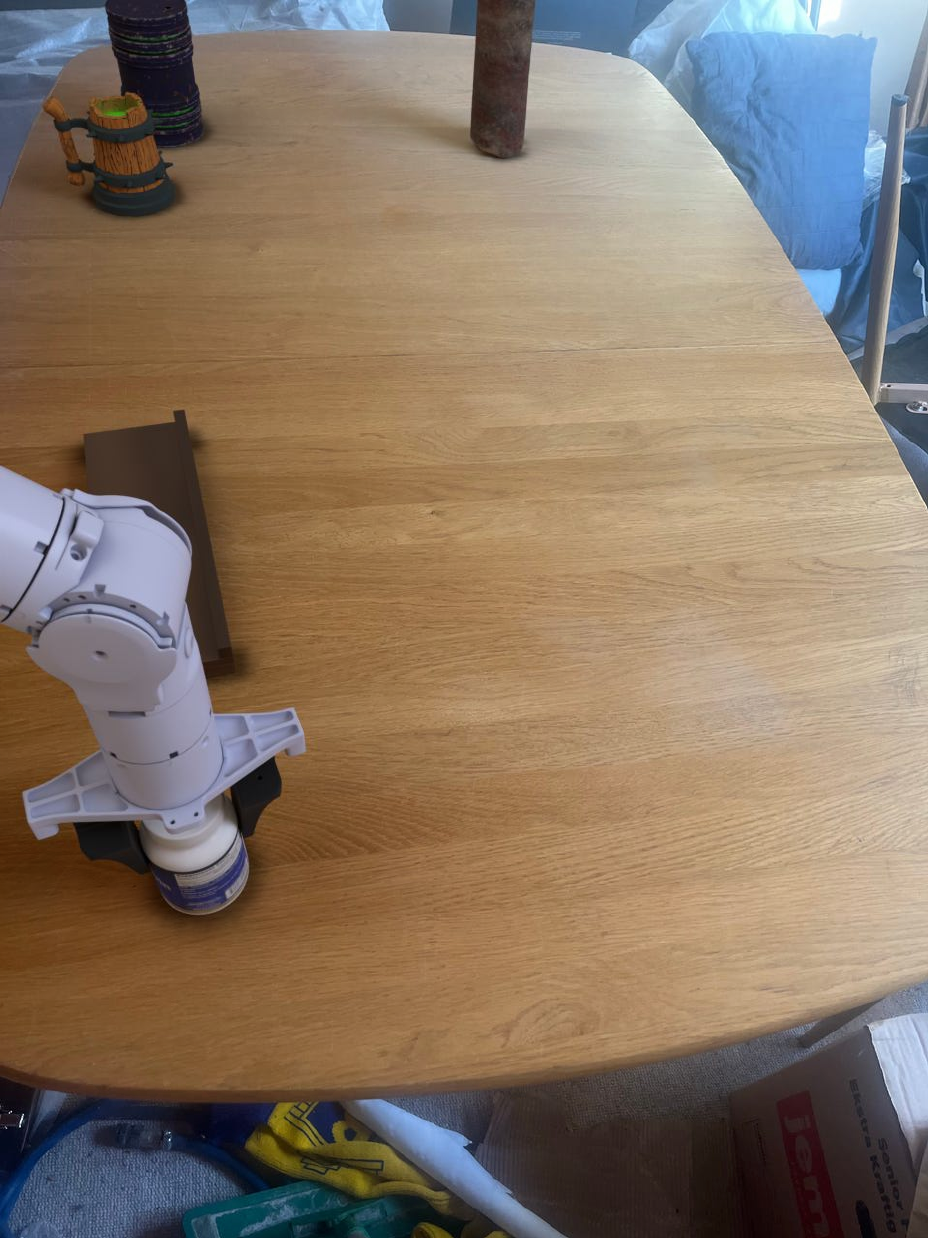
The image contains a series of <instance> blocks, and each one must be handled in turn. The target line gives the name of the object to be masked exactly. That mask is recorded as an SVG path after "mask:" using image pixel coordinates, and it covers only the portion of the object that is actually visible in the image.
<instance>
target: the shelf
mask: <svg viewBox="0 0 928 1238" xmlns="http://www.w3.org/2000/svg"><path fill="white" fill-rule="evenodd" d="M172 413H173V418H174V421H170V422H162V423H155V424H147V425H140V426H132V427H125V428H118V429H117V428H116V429H109V430H102V431H95V432H87V433H83V434H82V435H83V436H82V437H83V448H84V459H85V467H86V468H85V469H86V470H85V471H86V478H87V479H86V480H87V489H88V494H90V495H96V496H104V495H118V496H127V497H133V498H137V499H141V500H144V501H147V502H150V503H151V504H152V505H154V506H155V507H156V508H157V509H158V510H160V511H162V512H164V513H165V514H167V515H168V516H170V517H171V518H172V519H174V520H175V521H176V522H177V523H178V524H179V525H180V526H181V527H182V528H183V530H184V531H185V532H186V534H187V536H188V538H189V540H190V543H191V547H192V556H191V571H190V577H189V582H188V587H187V593H186V598H185V602H186V604H187V608H188V612H189V616H190V621H191V625H192V629H193V633H194V637H195V639H196V641H197V644H198V648H199V652H200V656H201V661H202V665H203V669H204V674H205V678H206V679H209V678H214V677H215V678H216V677H221V676H225V675H229V674H234V673H237V668H236V663H235V658H234V652H233V647H232V642H231V637H230V632H229V626H228V622H227V617H226V616H227V615H226V611H225V606H224V602H223V597H222V591H221V586H220V582H219V581H220V580H219V577H218V576H219V575H218V573H217V572H218V571H217V567H216V561H215V557H214V552H213V551H214V550H213V546H212V541H211V536H210V531H209V527H208V521H207V516H206V512H205V511H206V510H205V506H204V501H203V496H202V492H201V491H202V490H201V486H200V481H199V477H198V469H197V466H196V461H195V456H194V451H193V446H192V441H191V436H190V435H191V434H190V431H189V425H188V421H187V417H186V415H187V414H186V410H185V409H178V410H173V411H172Z"/></svg>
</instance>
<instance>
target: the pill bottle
mask: <svg viewBox="0 0 928 1238" xmlns="http://www.w3.org/2000/svg"><path fill="white" fill-rule="evenodd" d="M204 811H205V815H206V820H205V822H204V823H203V824H202V825H201V826H199V827H196V828H193V829H190V830H187V831H185V832H182V833H179V834H170V833H168V832H167V831H166V829H165V827H164V824H163V822H162V821H161V820H139V821H140V822H139V827H138V830H139V837H140V842H141V846H142V849H143V851H144V853H145V856H146V858H147V860H148V863H149V866H150V870H151V872H152V875H153V877H154V880H155V882H156V885H157V886H158V889H159V891H160V893H161V895H162V897H163V899H164V900H165V901H166V903H167V904H168V905H169V906H171V907H172V908H173V909H174V910H176V911H178V912H181V913H183V914H185V915H186V914H187V915H191V916H204V915H205V916H206V915H210V914H213V913H217V912H219V911H221V910H223V909H225V908H226V907H228V906H229V905H231V903H234V901H236V899H237V898H238V897H239V896H240V895H241V893H242V891H243V890H244V888H245V886H246V885H247V881H248V877H249V874H250V873H249V872H250V863H249V856H248V852H247V848H246V844H245V841H244V839H243V836H242V833H241V830H240V825H239V821H238V817H237V812H236V810H235V807H234V805H233V803H232V800H231V797H229V796H228V795H227V793H225V791H223V792H222V793H221V794H219V795H218V796H216V797H215V798H213V799H212V800H211V801H209V802H208V803H206V805H205V806H204Z"/></svg>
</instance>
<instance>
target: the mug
mask: <svg viewBox="0 0 928 1238" xmlns="http://www.w3.org/2000/svg"><path fill="white" fill-rule="evenodd" d="M41 107H42V109H43V111H44V112H45V113H46V114H48V115H49V116H51V117H52V118H54V119H53V126H54V129H55V130H57V132H58V137H59V143H60V146H61V149H62V151H63V154H64V155H65V158H66V161H65V167H66V169H67V171H68V174H67V178H66V179H67V182H68V183H69V184H70V185H71V186H74V187H81V186H84V185H85V184H86V180H87V179H86V176H85V174H84V172H83V171H85V172H87V173H92V174H93V175H94V178H93V179H92V181H93V187H92V189H91V193H92V198H93V200H94V203H95V206H96V207H98V208H100V209H101V210H103V211H104V212H105V213H109V214H112V215H116V216H121V217H122V216H123V217H141V216H148V215H153V214H155V213H158V212H160V211H163V210H166V209H167V208H168V207H170V206H171V205H172V204H173V203H174V202H175V199H176V195H177V193H176V188H175V185H174V183H173V181H172V179H170V177H169V174H168V172H167V169H169V168H171V167H173V166H174V163H173V162H169V161H168V162H165V160H164V159H163V157H162V154H163V153H164V152H163V150H158V147H156V143H155V140H154V136H153V135H154V134H155V133H154V132H153V131H154V129H155V126H157V125H160V124H162V123H163V120H154V119H153V118H152V117H151V115H150V114H151V113H152V112H153V110H152V109H150V110H146V109H145V106H144V104H143V102H142V99H141V98H140V97H139V96H138V95H137V94H135V93H131V92H126V93H125V96H121V95H111V96H105V97H101V98H99V97H95V96H90V98H89V102H88V109H89V110H87V111H86V114H88V117H87V118H83V117H79V118H78V117H76V118H72V119H70V118H69V117H68V114H67V113H66V111H65V108H64V107H63V105H62V102H60V101H59V99H57V98H56V97H54V96H50V97H48V98H47V99H45V101H44V103H42V106H41ZM76 128H77V129H84V130H87V132H88V133H87V134H86V135H85V137H86V138H87V139H89V138H91V139H92V145H93V157H94V159H93V162H84V161H83V160H81V159H80V158H79V154H78V151H77V149H76V146H75V142H74V139H73V136H72V133H71V130H72V129H76Z"/></svg>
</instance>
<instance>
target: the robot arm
mask: <svg viewBox="0 0 928 1238" xmlns="http://www.w3.org/2000/svg"><path fill="white" fill-rule="evenodd" d="M191 556H192V547H191V543H190V540H189V538H188V536H187V534H186V532H185V531H184V530H183V528H182V527H181V526H180V525H179V524H178V523H177V522H176V521H175V520H174V519H172V518H171V517H170V516H168V515H167V514H165V513H164V512H162V511H160V510H158V509H157V508H156V507H155V506H154V505H152V504H151V503H150V502H147V501H144V500H141V499H137V498H133V497H127V496H118V495H104V496H96V495H90V494H89V493H86V492H84V491H82V490H80V489H78V488H75V489H74V490H71V489H69V488H67V487H65V488H62V489H61V490H60V492H59V493H58V492H56V491H54V490H52V489H50V488H48V487H46V486H44V485H42V484H40V483H38V482H35V481H34V480H31V479H30V478H27V477H25V476H23V475H21V474H19V473H17V472H15V471H13V470H11V469H9V468H7V467H5V466H3V465H0V624H1V625H4V626H7V627H9V628H11V629H14V630H16V631H18V632H22V633H24V634H26V635H29V636H31V641H30V645H27V646H26V647H25V651H26V653H27V655H28V656H29V657H30V659H31V660H32V661H33V662H34V663H35V664H36V665H37V666H38V667H39V668H41V669H42V670H43V671H44V672H46V673H47V674H49V676H52V677H54V678H55V679H58V680H60V681H62V682H64V683H65V684H66V685H68V686H69V687H70V688H71V689H72V690H73V692H74V694H75V696H76V698H77V701H78V703H79V705H82V706H81V707H82V709H83V710H84V713H85V715H86V718H87V720H88V723H89V725H90V727H91V730H92V733H93V734H94V737H95V740H96V742H97V745H98V747H99V749H98V750H96V751H95V752H93V753H92V754H90V755H88V756H87V757H86V758H84V759H82V760H80V761H79V762H77V763H76V764H74V765H72V766H71V767H69V768H68V769H67V770H65V771H64V772H62V773H60V774H59V775H57V776H55V777H53V778H52V779H50V780H48V781H46V782H44V783H42V784H40V785H37V786H35V787H31V788H28V789H26V790H23V791H22V792H21V793H22V795H21V796H22V800H23V805H24V811H25V817H26V821H27V824H28V826H29V828H30V829H31V831H32V833H33V834H34V836H35V838H36V840H37V841H41V840H44V839H47V838H51V837H53V836H56V835H57V834H58V833H59V831H60V829H59V828H60V827H59V825H58V824H68V823H72V825H73V828H74V829H75V830H74V831H75V833H76V836H77V839H78V844H79V848H80V851H81V852H82V853H83V855H84V856H85V857H86V858H87V859H88V860H89V861H90V862H93V861H95V862H96V861H103V860H104V861H113V862H116V863H120V864H122V865H125V866H126V867H128V868H130V869H131V870H132V871H134V872H135V873H137V874H138V875H139V876H142V875H144V874H148V873H151V872H152V870H151V868H150V865H149V863H148V860H147V858H146V856H145V853H144V851H143V849H142V846H141V842H140V837H139V827H138V826H137V824H136V823H135V822H136V821H141V820H161V821H162V822H163V824H164V827H165V829H166V831H167V832H168V833H170V834H179V833H182V832H185V831H187V830H190V829H193V828H196V827H199V826H201V825H202V824H203V823H204V822H205V820H206V815H205V811H204V806H205V805H206V803H208V802H209V801H211V800H212V799H213V798H215V797H216V796H218V795H219V794H221V793H222V792H225V791H226V790H227V789H229V791H230V800H231V801H232V803H233V805H234V807H235V810H236V812H237V817H238V821H239V825H240V830H241V833H242V837H243V840H245V839H247V838H250V837H253V836H254V835H255V831H256V827H257V824H258V822H259V819H260V817H261V816H262V813H263V812H264V810H265V809H266V808H267V807H268V806H269V805H270V804H271V803H272V802H273V801H275V800H277V799H278V798H280V797H281V796H282V792H283V791H282V790H283V781H282V776H281V773H280V771H279V768H278V765H277V763H276V757H275V756H276V755H278V754H279V753H281V752H282V751H284V752H285V755H286V756H287V757H289V758H290V757H296V756H298V755H302V754H304V753H306V752H307V749H306V738H305V732H304V729H303V727H302V725H301V722H300V719H299V718H298V717H299V716H298V715H297V712H296V710H295V707H294V706H291V707H287V708H284V709H280V710H275V711H267V712H241V713H240V712H236V713H234V712H233V713H214V709H213V706H212V700H211V696H210V692H209V687H208V683H207V678H205V674H204V669H203V665H202V661H201V656H200V652H199V648H198V644H197V641H196V639H195V637H194V633H193V629H192V625H191V621H190V616H189V612H188V608H187V604H186V602H185V598H186V593H187V587H188V582H189V577H190V571H191Z"/></svg>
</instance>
